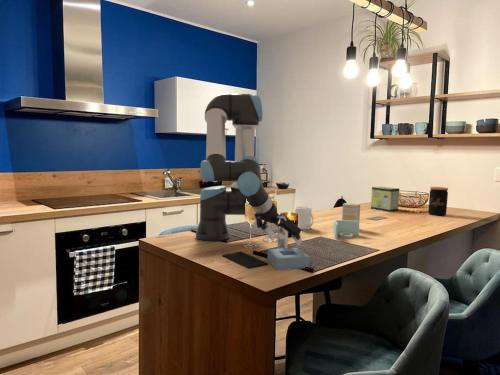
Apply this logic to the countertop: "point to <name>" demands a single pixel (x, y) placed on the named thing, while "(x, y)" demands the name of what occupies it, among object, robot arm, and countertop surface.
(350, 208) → the supplement box
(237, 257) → the cell phone
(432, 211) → the coffee jar
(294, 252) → the block
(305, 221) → the mug
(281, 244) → the shaft
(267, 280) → the countertop surface
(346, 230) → the right angle wall
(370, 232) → the countertop surface
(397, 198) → the protein box
